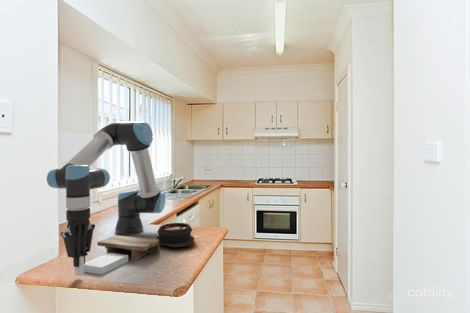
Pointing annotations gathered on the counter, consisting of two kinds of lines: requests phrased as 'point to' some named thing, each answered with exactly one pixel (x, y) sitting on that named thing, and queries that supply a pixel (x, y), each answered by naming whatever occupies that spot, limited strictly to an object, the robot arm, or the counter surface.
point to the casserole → (175, 235)
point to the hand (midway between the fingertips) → (79, 274)
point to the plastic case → (105, 263)
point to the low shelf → (130, 245)
